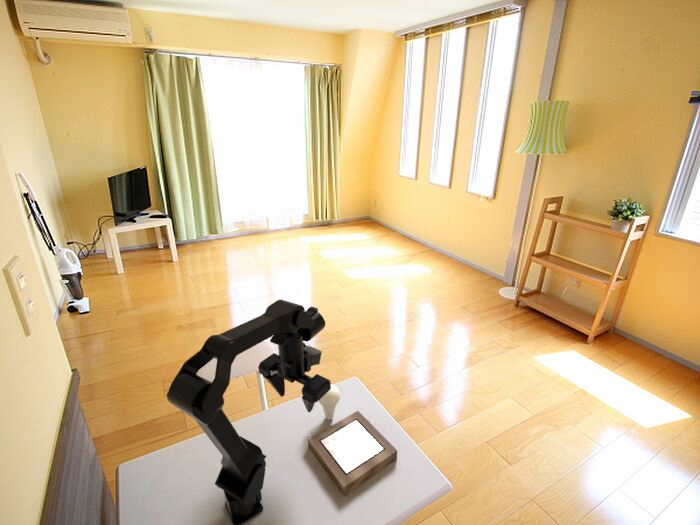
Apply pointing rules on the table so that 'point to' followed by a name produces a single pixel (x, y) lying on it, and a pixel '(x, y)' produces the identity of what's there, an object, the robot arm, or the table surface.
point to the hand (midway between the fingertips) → (296, 403)
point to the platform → (351, 447)
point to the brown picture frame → (361, 473)
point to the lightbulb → (330, 401)
